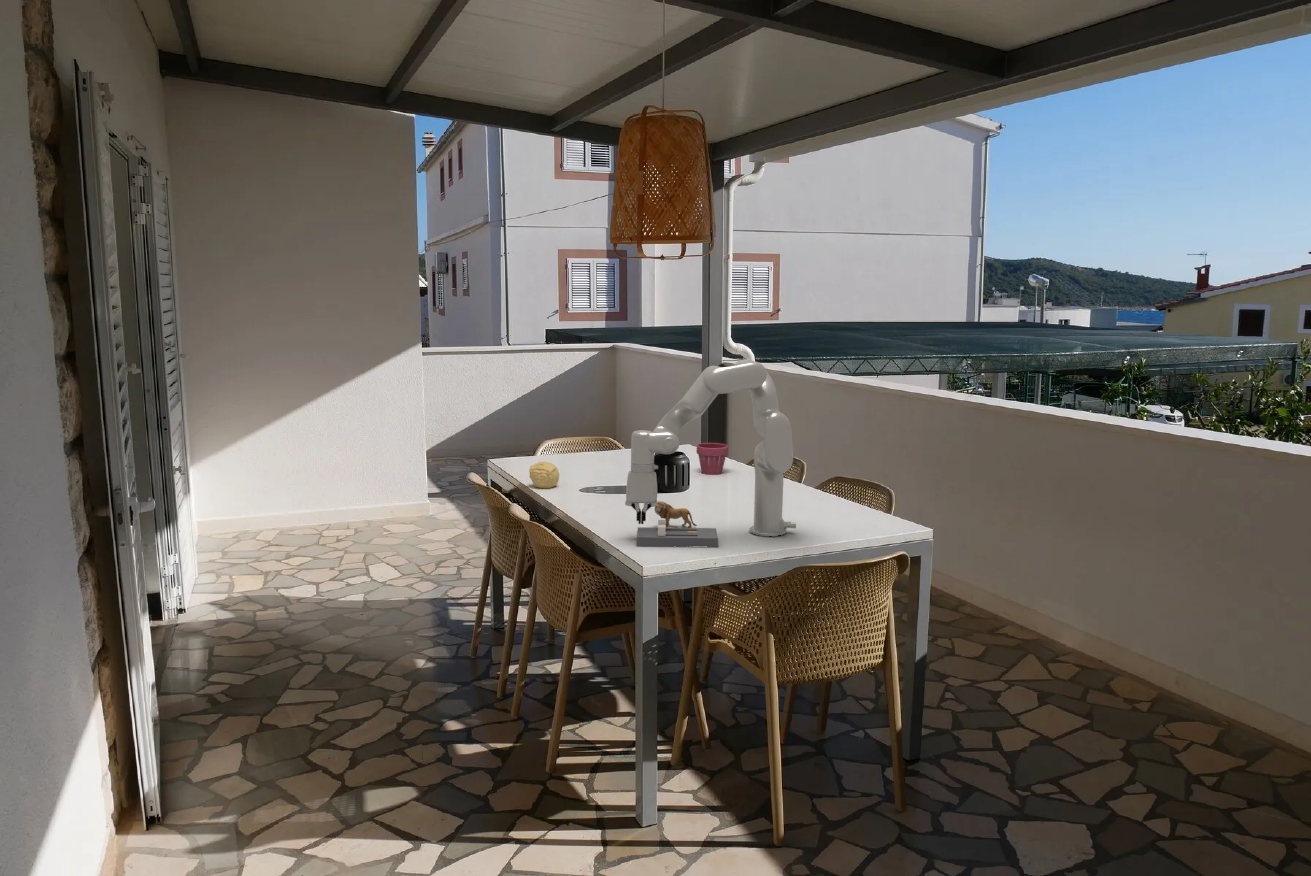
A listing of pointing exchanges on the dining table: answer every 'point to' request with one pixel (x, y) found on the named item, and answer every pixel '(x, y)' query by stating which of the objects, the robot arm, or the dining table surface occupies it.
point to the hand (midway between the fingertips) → (641, 523)
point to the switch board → (677, 537)
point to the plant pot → (712, 457)
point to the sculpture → (544, 475)
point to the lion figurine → (673, 513)
